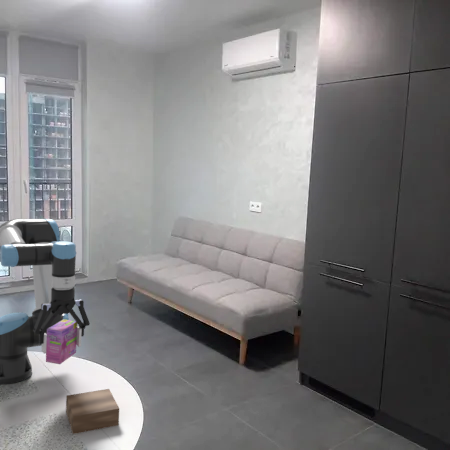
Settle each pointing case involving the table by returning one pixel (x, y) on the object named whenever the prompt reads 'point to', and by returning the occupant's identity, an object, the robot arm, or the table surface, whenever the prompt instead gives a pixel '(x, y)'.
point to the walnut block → (92, 411)
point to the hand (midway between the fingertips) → (61, 348)
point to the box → (61, 341)
